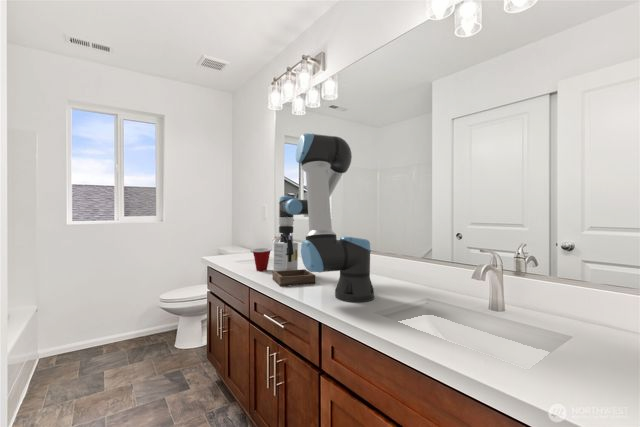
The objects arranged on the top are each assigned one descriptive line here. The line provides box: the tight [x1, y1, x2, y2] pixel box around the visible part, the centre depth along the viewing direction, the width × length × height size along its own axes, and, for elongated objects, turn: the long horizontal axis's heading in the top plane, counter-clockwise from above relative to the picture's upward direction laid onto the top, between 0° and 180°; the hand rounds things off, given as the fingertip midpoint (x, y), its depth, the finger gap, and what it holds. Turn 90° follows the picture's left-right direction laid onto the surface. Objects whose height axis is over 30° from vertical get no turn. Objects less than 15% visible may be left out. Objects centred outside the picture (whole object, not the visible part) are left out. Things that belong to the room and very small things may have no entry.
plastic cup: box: [251, 247, 272, 272], centre depth 172 cm, size 11×11×12 cm
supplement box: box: [273, 241, 299, 271], centre depth 161 cm, size 10×9×17 cm
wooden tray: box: [272, 268, 316, 288], centre depth 144 cm, size 15×16×4 cm
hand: (285, 265), depth 161 cm, fingers open, 13 cm apart
